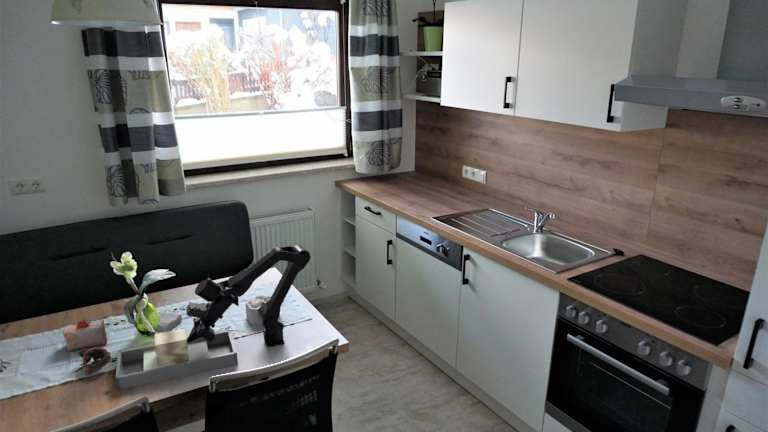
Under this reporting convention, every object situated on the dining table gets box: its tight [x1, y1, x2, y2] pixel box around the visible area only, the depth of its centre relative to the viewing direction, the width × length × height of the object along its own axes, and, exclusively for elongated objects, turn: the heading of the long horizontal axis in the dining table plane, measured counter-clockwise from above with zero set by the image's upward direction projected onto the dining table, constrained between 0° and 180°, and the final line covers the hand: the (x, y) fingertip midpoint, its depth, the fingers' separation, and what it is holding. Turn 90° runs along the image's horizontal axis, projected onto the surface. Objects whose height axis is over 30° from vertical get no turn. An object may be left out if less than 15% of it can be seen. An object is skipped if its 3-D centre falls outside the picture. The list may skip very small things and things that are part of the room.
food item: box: [62, 318, 108, 352], centre depth 190 cm, size 14×8×10 cm, turn 116°
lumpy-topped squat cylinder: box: [245, 294, 272, 326], centre depth 211 cm, size 10×13×9 cm
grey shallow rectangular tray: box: [115, 329, 239, 391], centre depth 180 cm, size 38×17×4 cm, turn 114°
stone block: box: [157, 311, 183, 333], centre depth 205 cm, size 12×5×10 cm
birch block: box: [154, 328, 189, 366], centre depth 178 cm, size 10×8×8 cm
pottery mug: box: [78, 346, 112, 375], centre depth 178 cm, size 12×10×8 cm
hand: (187, 341), depth 180 cm, fingers closed, pressing on birch block
